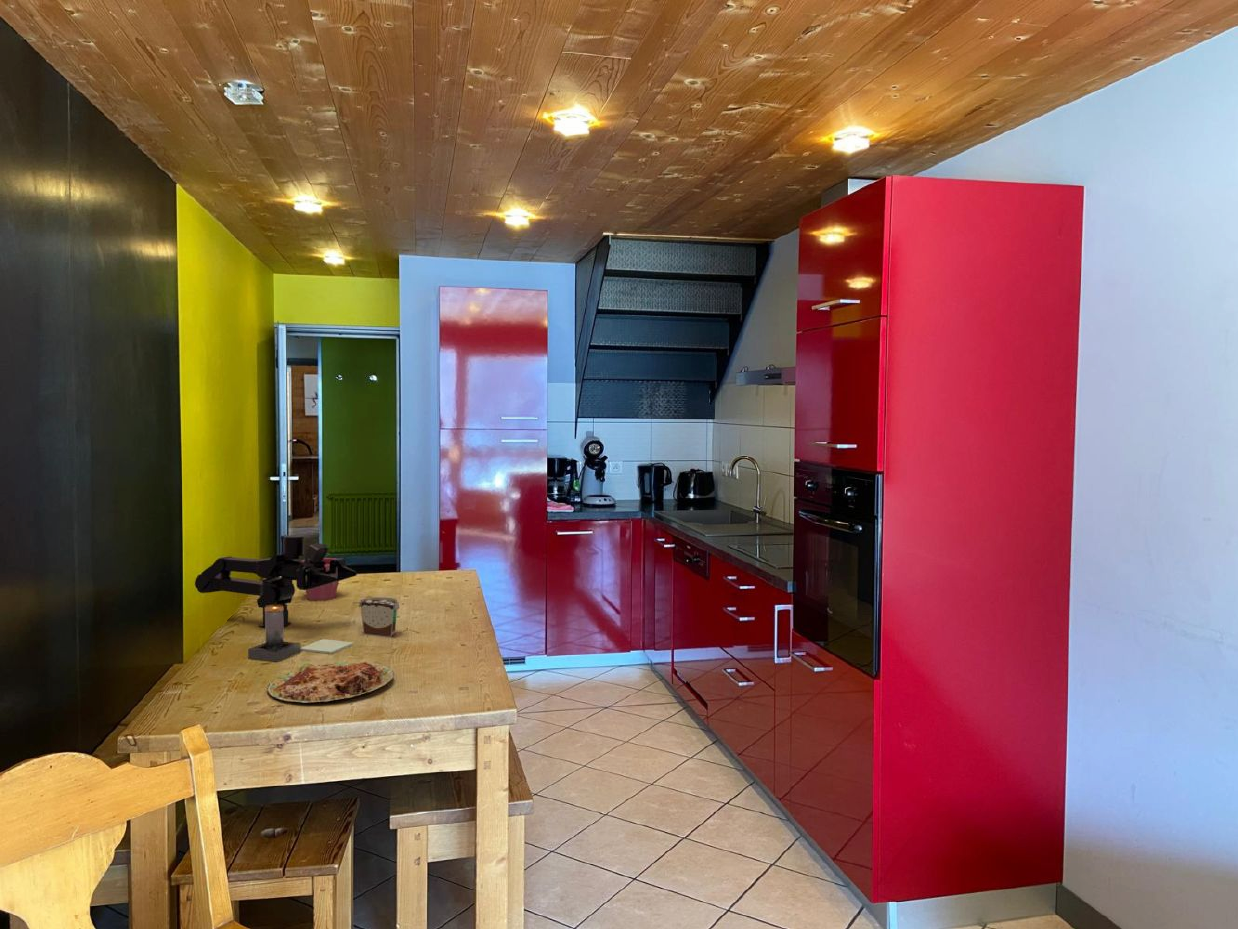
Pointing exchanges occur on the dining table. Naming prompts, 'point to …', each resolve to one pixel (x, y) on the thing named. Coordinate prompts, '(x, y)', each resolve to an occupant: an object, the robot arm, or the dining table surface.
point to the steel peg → (274, 627)
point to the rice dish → (330, 681)
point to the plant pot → (323, 587)
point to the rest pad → (327, 646)
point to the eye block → (274, 652)
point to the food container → (379, 616)
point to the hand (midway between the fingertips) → (346, 576)
